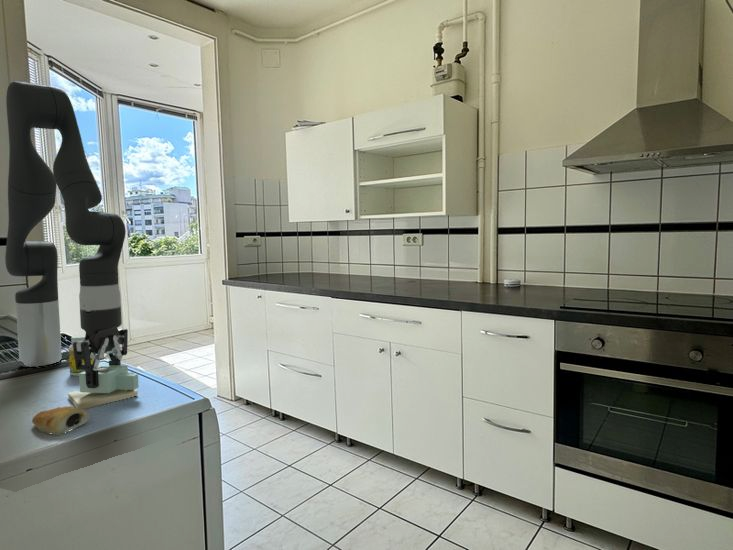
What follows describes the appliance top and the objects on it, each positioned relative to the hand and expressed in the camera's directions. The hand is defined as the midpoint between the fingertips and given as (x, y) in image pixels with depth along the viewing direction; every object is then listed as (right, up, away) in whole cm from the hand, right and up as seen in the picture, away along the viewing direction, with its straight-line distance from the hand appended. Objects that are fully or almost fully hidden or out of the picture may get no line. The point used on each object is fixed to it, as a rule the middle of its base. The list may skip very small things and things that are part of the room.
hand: (104, 381), depth 94 cm
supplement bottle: (-16, -2, +17) cm, 23 cm away
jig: (0, -3, 0) cm, 3 cm away
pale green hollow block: (+2, -1, 0) cm, 2 cm away
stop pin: (+5, -2, +1) cm, 6 cm away
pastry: (0, -5, -14) cm, 15 cm away
